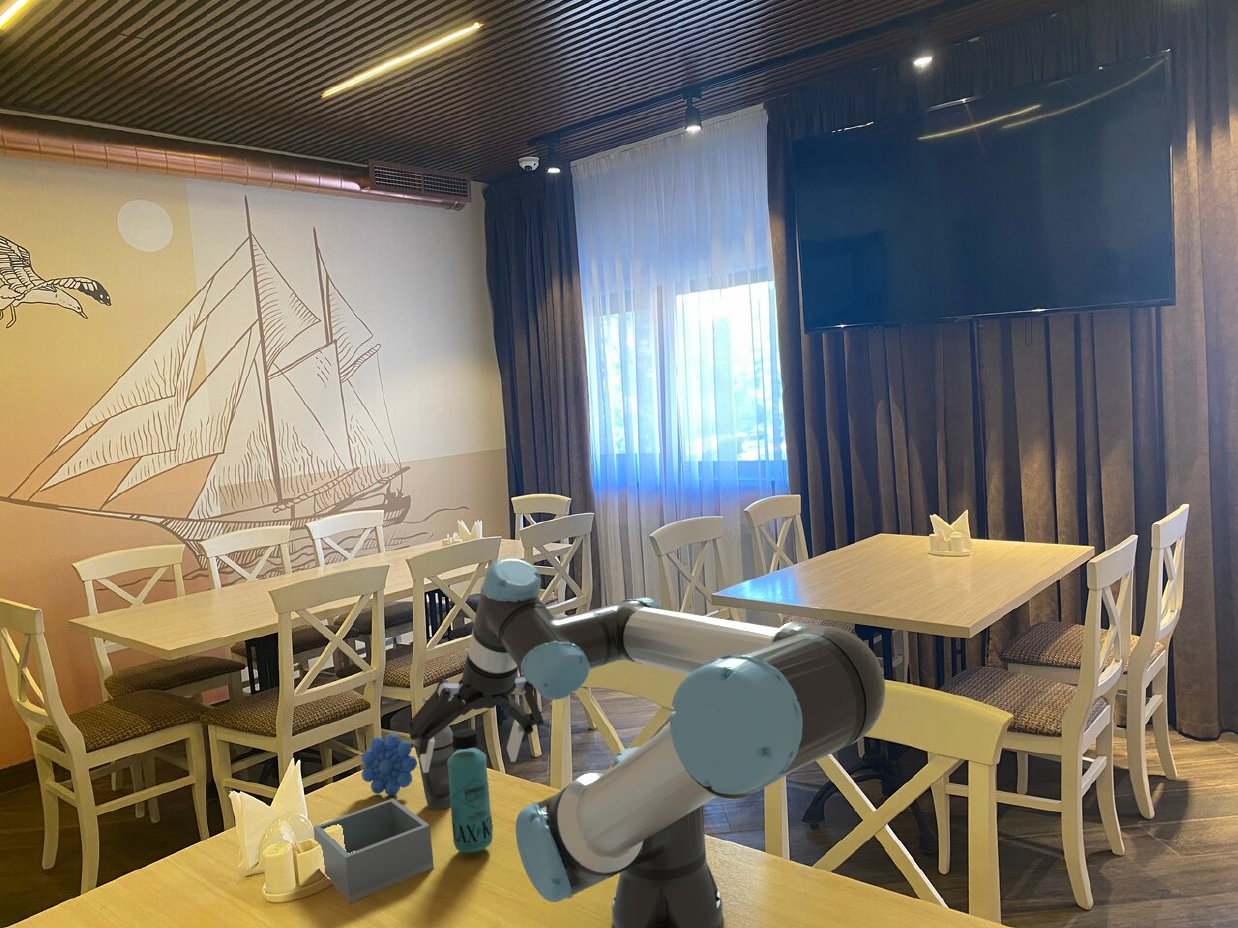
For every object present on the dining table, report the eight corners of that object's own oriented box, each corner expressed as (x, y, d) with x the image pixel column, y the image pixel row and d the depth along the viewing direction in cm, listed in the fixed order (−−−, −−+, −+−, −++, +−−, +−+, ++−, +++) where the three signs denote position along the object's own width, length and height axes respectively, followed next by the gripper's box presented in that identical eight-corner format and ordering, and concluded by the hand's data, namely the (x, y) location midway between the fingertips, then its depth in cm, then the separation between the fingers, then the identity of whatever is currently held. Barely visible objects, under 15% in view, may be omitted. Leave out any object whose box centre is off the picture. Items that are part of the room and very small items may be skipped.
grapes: (430, 786, 173) (424, 725, 172) (413, 802, 166) (407, 739, 165) (376, 783, 176) (370, 723, 175) (357, 799, 169) (350, 737, 168)
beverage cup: (456, 812, 161) (446, 702, 159) (415, 814, 161) (405, 705, 160) (463, 793, 168) (454, 689, 167) (425, 796, 168) (415, 691, 167)
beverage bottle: (445, 854, 146) (434, 734, 145) (478, 837, 151) (467, 721, 150) (471, 866, 142) (459, 742, 140) (503, 848, 147) (493, 729, 145)
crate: (433, 867, 142) (429, 825, 142) (350, 902, 134) (345, 857, 133) (397, 838, 153) (393, 798, 152) (317, 868, 145) (313, 826, 144)
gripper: (567, 633, 136) (538, 732, 146) (400, 643, 125) (381, 750, 135) (583, 668, 130) (552, 769, 140) (410, 682, 120) (389, 790, 130)
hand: (468, 760), depth 138 cm, fingers open, 13 cm apart
